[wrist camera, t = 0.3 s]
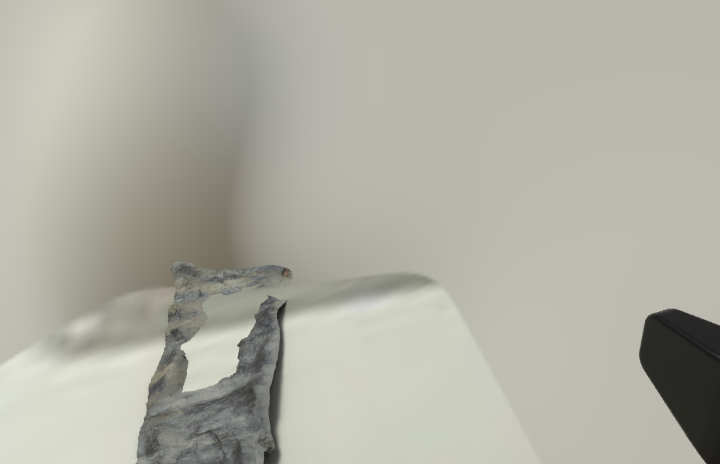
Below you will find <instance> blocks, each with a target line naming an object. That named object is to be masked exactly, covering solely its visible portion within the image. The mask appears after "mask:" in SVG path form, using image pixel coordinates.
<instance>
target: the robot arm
mask: <svg viewBox="0 0 720 464" xmlns="http://www.w3.org/2000/svg"><path fill="white" fill-rule="evenodd" d="M639 357H640V362H641V365H642V367H643V369H644V371H645V372H646V374H647V376H648V377H649V379H650V380H651V382H652V383H653V385H654V386H655V388H656V389H657V391H658V392H659V394H660V396H661V397H662V399H663V400H664V402H665V403H666V405H667V406H668V408H669V409H670V411H671V413H672V414H673V416H674V417H675V419H676V420H677V422H678V423H679V425H680V426H681V428H682V429H683V431H684V433H685V434H686V436H687V437H688V439H689V440H690V442H691V443H692V445H693V446H694V447H695V449H696V450H697V452H698V453H699V455H700V456H701V457H702V459H703V460H704V461H705V463H706V464H720V326H719V325H717V324H714V323H712V322H709V321H707V320H704V319H701V318H699V317H696V316H693V315H690V314H688V313H685V312H683V311H680V310H677V309H667V310H663V311H660V312H657V313H653V314H651V315H649V316H648V317H647V319H646V320H645V324H644V329H643V335H642V340H641V346H640V351H639Z"/></svg>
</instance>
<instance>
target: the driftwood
mask: <svg viewBox="0 0 720 464" xmlns="http://www.w3.org/2000/svg"><path fill="white" fill-rule="evenodd" d="M171 272H172V274H173V275H174V277H175V283H176V287H175V296H174V299H175V302H174V304H172V305H171V306H170V308H169V311H168V318H169V319H168V322H169V323H168V325H169V326H168V328H167V331H166V333H165V334H166V335H165V337H166V339H165V341H166V347H165V348H164V350H165V351H164V353H163V355H162V358H161V361H160V362H159V365H158V367H157V371H156V372H155V374H154V376H153V377H152V379H151V383H150V384H149V395H148V402H147V403H146V406H147V413H146V416H145V418H144V423H143V425H142V427H141V430H140V432H139V437H138V440H139V442H138V450H137V458H138V461H137V463H136V464H263V463H264V452H265V451H266V453H268V454H271V453H272V452H273V451H274V449H275V443H274V440H273V437H272V434H271V427H270V421H269V414H268V412H269V411H268V410H269V405H270V401H269V400H270V394H269V390H270V386H271V384H272V379H273V375H274V370H275V369H276V365H275V364H276V362H277V360H278V352H279V343H280V342H279V340H280V328H279V323H278V321H277V312H278V309H279V308H280V307H281V306H282V305H283V304H284V303H285V301H286V300H278V299H276V298H274V297H272V296H268V295H267V296H268V297H269V298H268V299H267V300H266V301H264V303H261V306H260V309H259V311H258V313H257V314H255V319H256V323H255V325H254V327H253V329H252V330H251V332H250V334H249V336H248V337H246V338H244V339H242V340H241V341H240V343H239V344H238V345H237V346H238V347H240V348H239V354H238V359H239V363H238V366H237V371H236V373H234V374H233V375H231V376H230V377H226V378H223V379H221V380H220V381H219V383H217V384H216V385H213V386H210V387H207V388H203V389H199V390H196V391H191V392H183V393H182V390H183V385H184V382H185V379H186V376H187V372H186V371H187V367H188V360H186V359H185V358H186V357H184V355H185V353H184V351H183V350H180V347H181V345H182V344H184V343H186V342H188V341H189V340H190V339H191V338H192V337H193V336H194V335H195V334H196V333H197V332H198V330H199V329H200V327H202V326H203V325H204V323H205V322H206V320H207V319H208V317H207V315H206V313H205V312H204V311H203V307H202V303H203V302H204V301H205V300H207V299H208V297H209V296H210V295H213V294H219V293H222V294H223V295H229V294H233V293H237V292H240V291H242V288H254V289H255V288H272V287H282V286H290V281H291V279H292V278H293V275H292V271H291V270H290V269H288V268H284V267H281V266H275V265H264V266H259V267H253V268H249V269H242V270H235V269H234V270H232V269H230V270H227V269H226V270H209V269H205V268H203V267H199V266H197V265H196V264H192V263H188V262H186V263H185V262H183V261H179V262H176V263H174V264H173V265H172V267H171ZM214 288H221V289H215V290H211V289H214ZM235 289H238V290H237V291H236V290H235ZM184 301H187V302H184ZM182 302H183V303H182ZM176 342H177V343H176Z"/></svg>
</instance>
